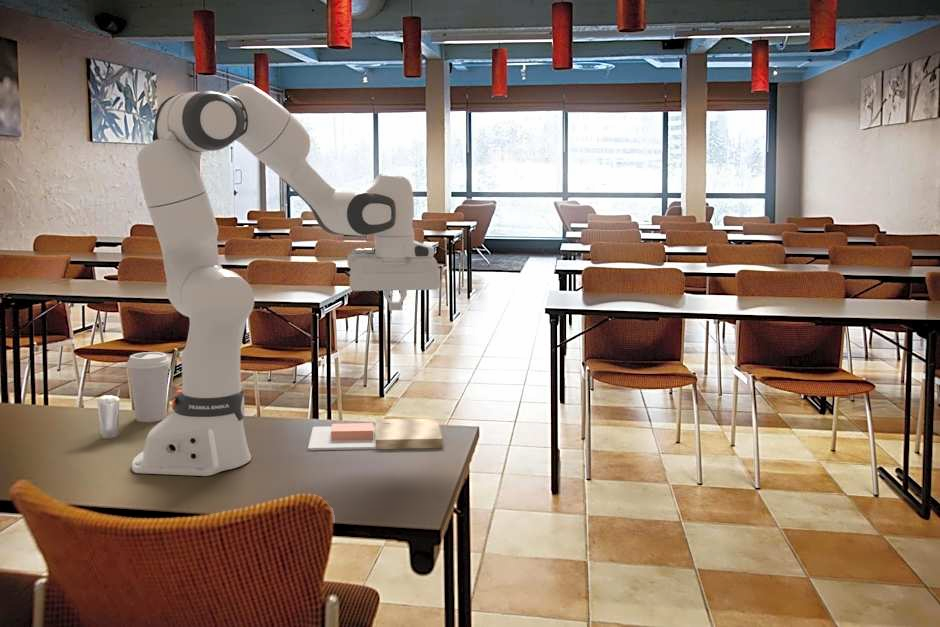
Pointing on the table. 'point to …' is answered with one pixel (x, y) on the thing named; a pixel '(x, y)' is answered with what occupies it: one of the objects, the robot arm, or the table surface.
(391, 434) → the riser
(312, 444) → the mat
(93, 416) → the table surface
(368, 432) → the pink rectangular block
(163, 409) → the coffee cup
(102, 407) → the milkshake
